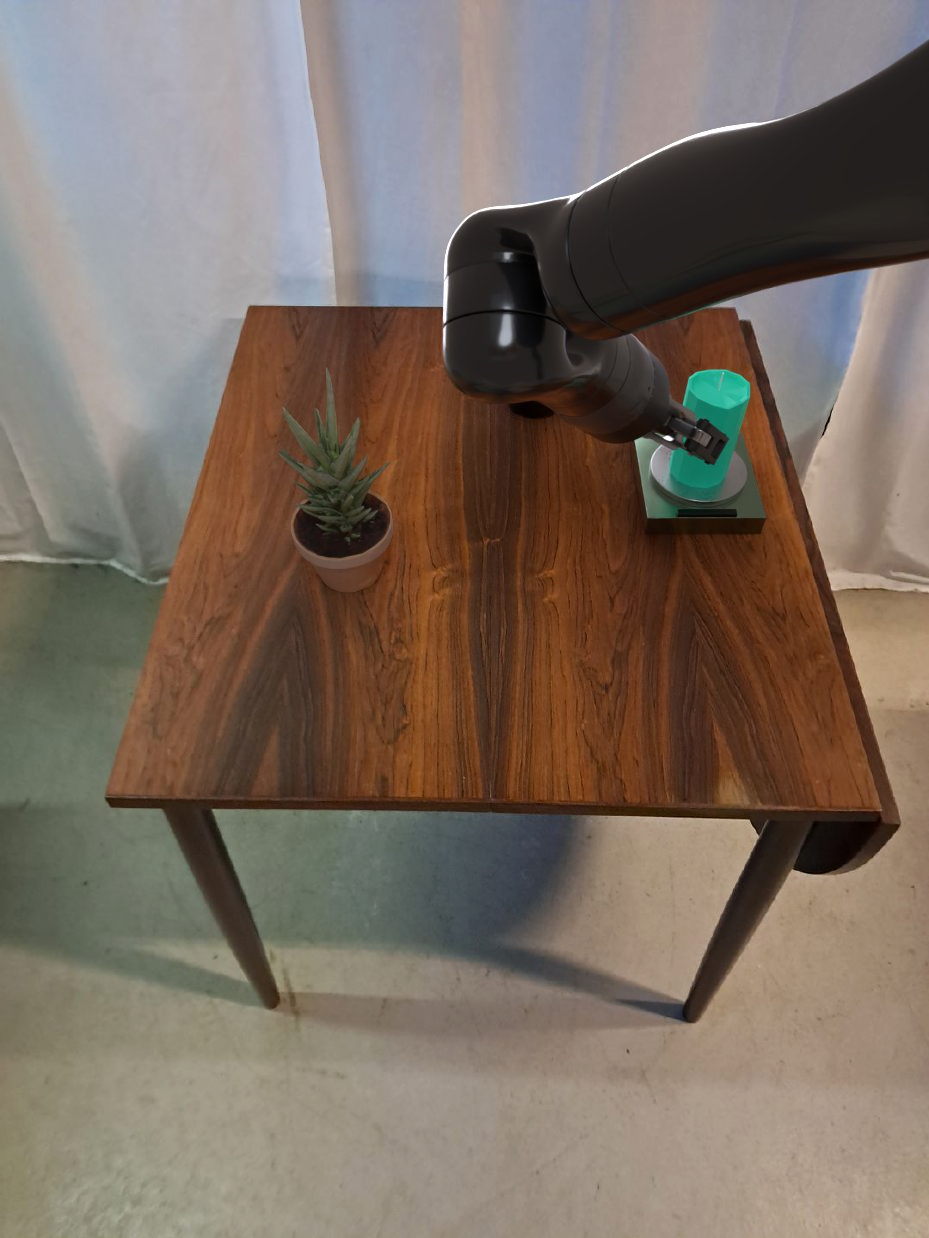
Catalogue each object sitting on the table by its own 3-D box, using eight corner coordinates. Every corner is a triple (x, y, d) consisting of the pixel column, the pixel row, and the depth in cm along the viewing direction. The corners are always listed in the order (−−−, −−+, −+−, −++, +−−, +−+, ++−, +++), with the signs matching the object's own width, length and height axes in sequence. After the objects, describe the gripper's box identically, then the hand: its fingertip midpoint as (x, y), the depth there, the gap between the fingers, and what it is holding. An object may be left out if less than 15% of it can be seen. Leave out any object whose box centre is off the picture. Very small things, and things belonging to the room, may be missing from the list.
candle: (662, 479, 92) (684, 384, 83) (676, 443, 96) (699, 348, 86) (719, 494, 91) (748, 399, 81) (732, 457, 94) (761, 362, 85)
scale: (760, 534, 92) (768, 512, 89) (644, 534, 92) (648, 512, 89) (737, 449, 100) (744, 427, 97) (630, 449, 100) (634, 427, 97)
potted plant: (321, 621, 85) (275, 417, 66) (289, 555, 90) (238, 347, 71) (417, 586, 88) (400, 380, 68) (380, 524, 93) (356, 315, 73)
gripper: (714, 373, 61) (758, 422, 75) (550, 297, 67) (619, 356, 81) (658, 471, 63) (711, 501, 77) (503, 389, 69) (579, 430, 83)
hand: (664, 427), depth 79 cm, fingers open, 8 cm apart
